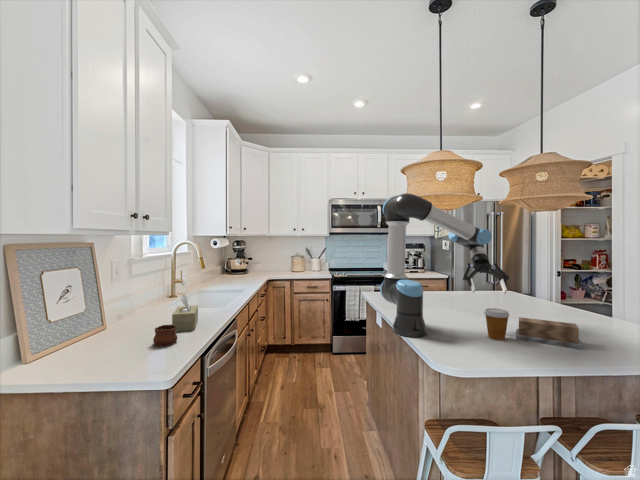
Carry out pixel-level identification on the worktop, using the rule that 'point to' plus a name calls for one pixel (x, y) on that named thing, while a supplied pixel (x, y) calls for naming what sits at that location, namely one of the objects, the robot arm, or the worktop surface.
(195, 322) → the tissue box
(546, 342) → the stand
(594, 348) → the worktop surface
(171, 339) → the ceramic pot
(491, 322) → the disposable coffee cup
